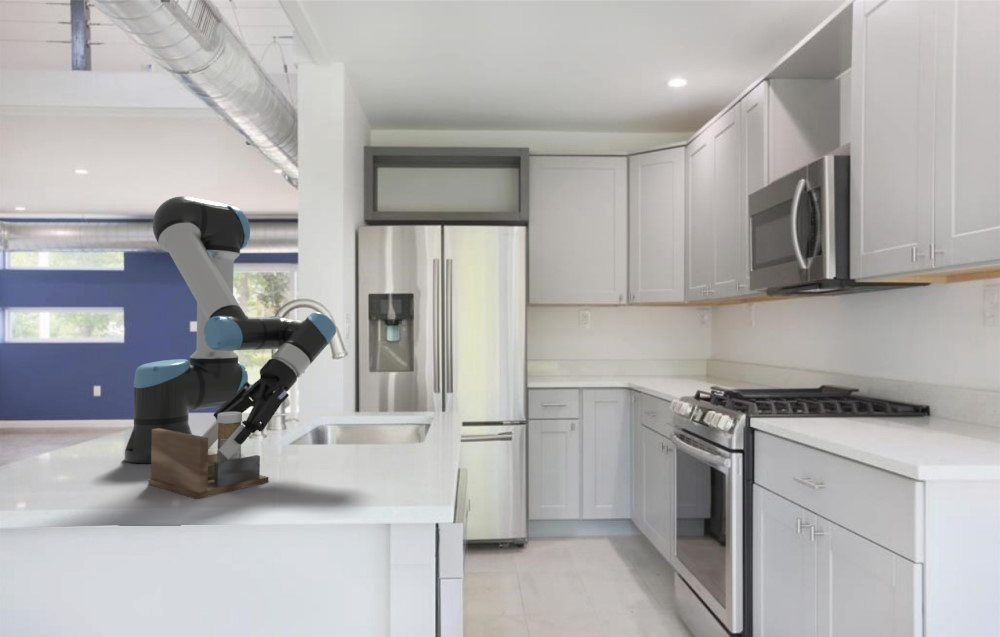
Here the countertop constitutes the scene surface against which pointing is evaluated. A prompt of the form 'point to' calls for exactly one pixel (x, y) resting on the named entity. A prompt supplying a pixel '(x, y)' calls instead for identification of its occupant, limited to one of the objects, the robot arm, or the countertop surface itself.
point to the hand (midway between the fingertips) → (211, 451)
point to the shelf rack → (197, 466)
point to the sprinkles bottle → (228, 432)
